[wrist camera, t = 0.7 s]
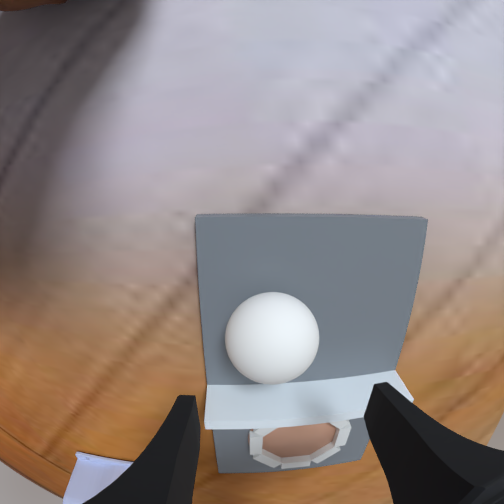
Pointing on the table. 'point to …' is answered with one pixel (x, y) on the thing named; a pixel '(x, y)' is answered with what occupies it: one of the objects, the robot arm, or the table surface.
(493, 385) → the table surface
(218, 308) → the board
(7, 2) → the butternut squash
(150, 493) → the robot arm
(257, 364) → the ball
